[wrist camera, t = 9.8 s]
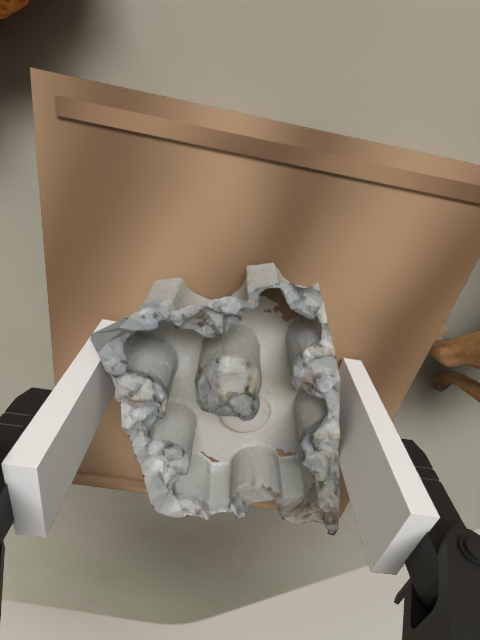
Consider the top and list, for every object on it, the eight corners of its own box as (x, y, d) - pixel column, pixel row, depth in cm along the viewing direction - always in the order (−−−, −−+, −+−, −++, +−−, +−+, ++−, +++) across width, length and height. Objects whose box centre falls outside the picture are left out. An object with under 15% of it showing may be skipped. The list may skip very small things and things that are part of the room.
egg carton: (323, 458, 18) (344, 544, 14) (173, 468, 18) (157, 554, 14) (326, 250, 12) (360, 303, 9) (115, 271, 13) (66, 330, 9)
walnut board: (494, 169, 12) (526, 175, 11) (334, 492, 21) (340, 519, 20) (54, 74, 11) (27, 66, 10) (74, 458, 20) (61, 484, 18)
